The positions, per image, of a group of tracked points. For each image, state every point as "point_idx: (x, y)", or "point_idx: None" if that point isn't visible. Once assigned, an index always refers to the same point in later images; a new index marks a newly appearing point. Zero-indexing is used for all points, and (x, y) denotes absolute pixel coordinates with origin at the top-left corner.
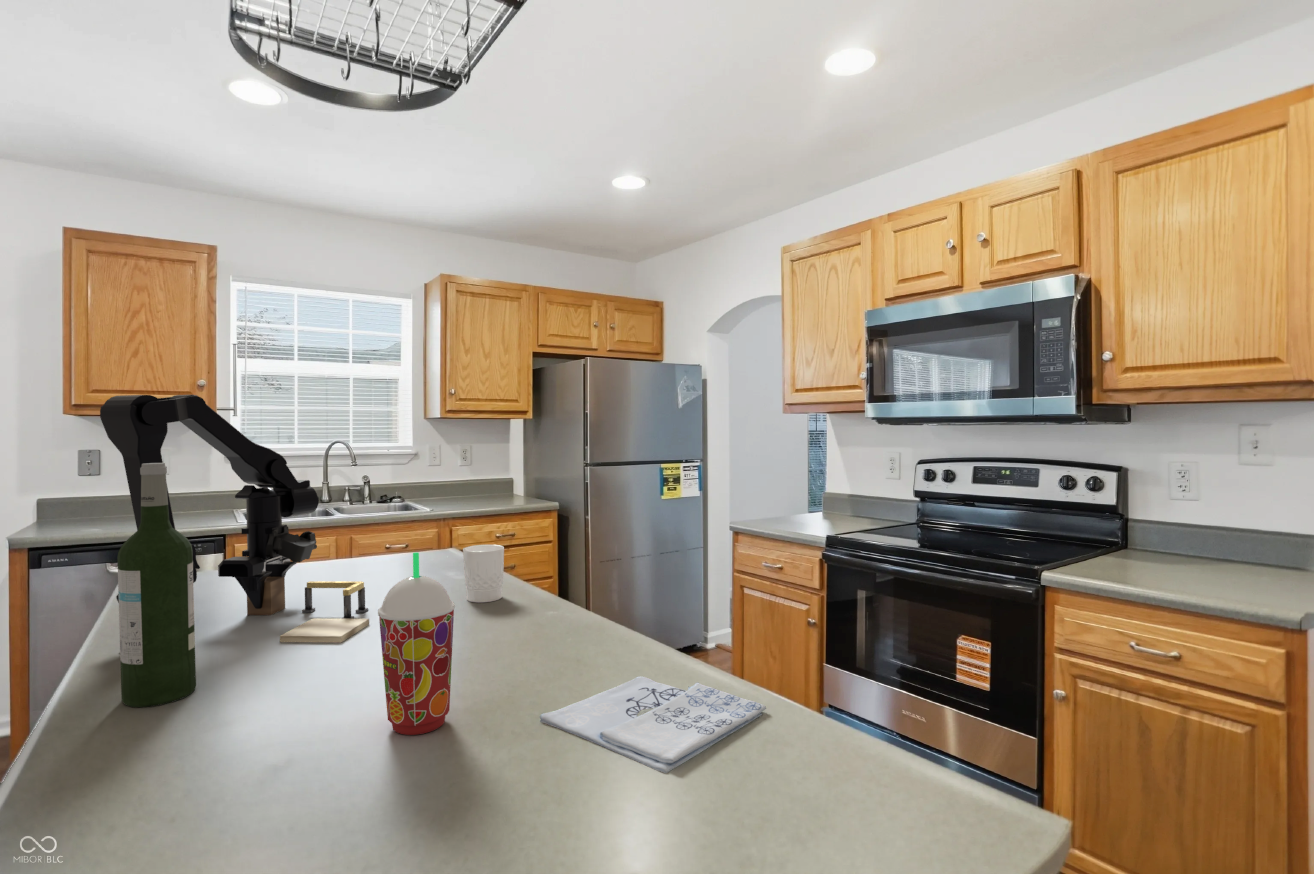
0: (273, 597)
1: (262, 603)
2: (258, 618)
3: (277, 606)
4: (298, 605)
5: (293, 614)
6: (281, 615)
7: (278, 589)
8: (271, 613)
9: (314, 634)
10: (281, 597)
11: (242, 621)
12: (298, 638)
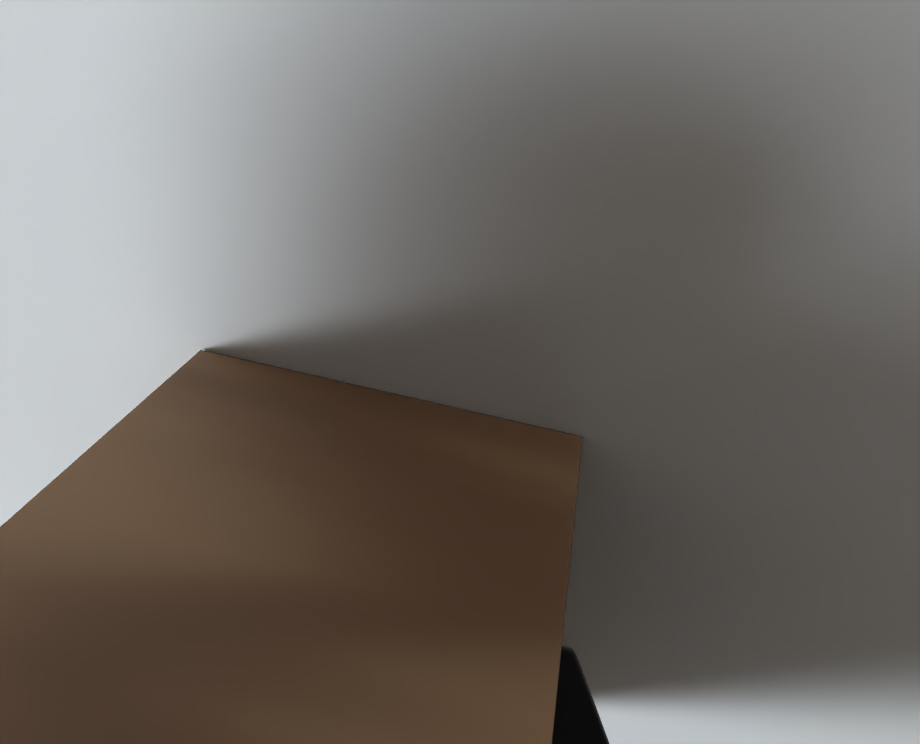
0: (464, 621)
1: None
2: (756, 553)
3: (381, 446)
4: (16, 200)
5: (633, 54)
6: (655, 269)
7: (195, 680)
8: (573, 448)
9: None
10: (192, 493)
11: (867, 696)
12: None
